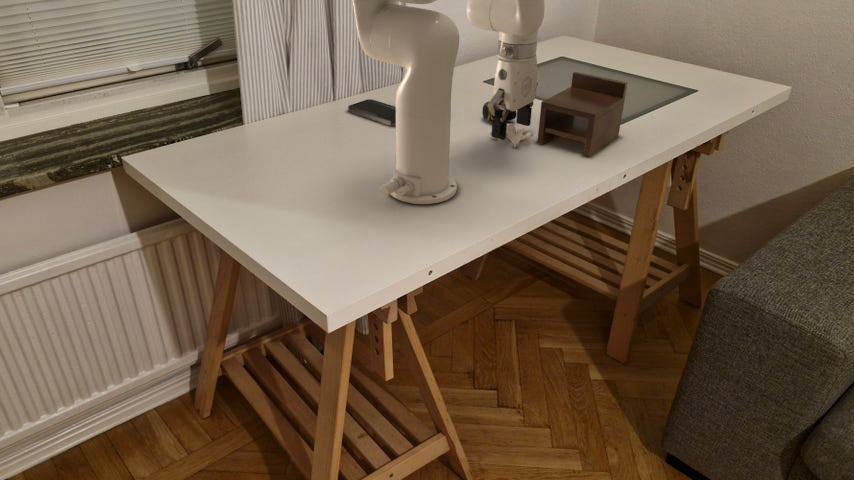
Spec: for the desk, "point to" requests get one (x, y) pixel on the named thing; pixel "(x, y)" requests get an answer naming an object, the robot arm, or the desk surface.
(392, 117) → the phone
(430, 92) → the robot arm
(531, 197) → the desk surface
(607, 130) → the shelf
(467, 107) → the desk surface
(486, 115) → the tape measure
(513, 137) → the pelvis model
